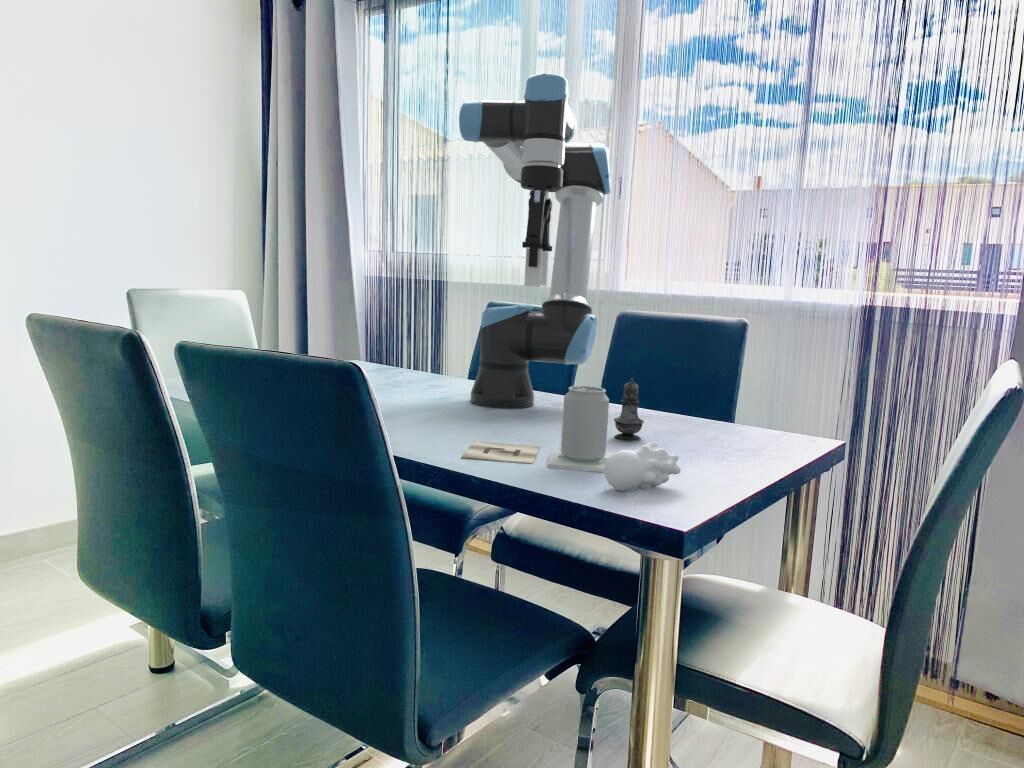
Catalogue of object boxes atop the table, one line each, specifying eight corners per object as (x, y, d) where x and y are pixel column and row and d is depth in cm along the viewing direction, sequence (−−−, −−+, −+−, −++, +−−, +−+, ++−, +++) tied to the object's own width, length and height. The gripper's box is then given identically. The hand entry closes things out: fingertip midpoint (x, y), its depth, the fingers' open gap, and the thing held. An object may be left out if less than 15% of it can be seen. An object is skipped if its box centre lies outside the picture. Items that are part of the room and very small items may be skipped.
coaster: (552, 451, 132) (552, 448, 132) (615, 457, 131) (615, 453, 131) (547, 467, 121) (547, 463, 121) (615, 473, 120) (615, 469, 120)
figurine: (588, 466, 113) (651, 455, 119) (606, 505, 110) (670, 492, 116) (609, 442, 108) (673, 432, 114) (628, 483, 105) (693, 471, 111)
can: (603, 465, 122) (608, 392, 120) (557, 461, 123) (561, 389, 121) (606, 455, 129) (611, 386, 127) (563, 451, 130) (567, 382, 129)
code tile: (473, 442, 136) (474, 441, 136) (539, 447, 135) (539, 446, 135) (461, 458, 125) (461, 456, 125) (532, 464, 123) (532, 462, 123)
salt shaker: (606, 437, 147) (610, 376, 145) (623, 433, 151) (628, 374, 149) (631, 443, 143) (636, 380, 141) (648, 439, 147) (653, 378, 145)
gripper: (528, 175, 147) (523, 283, 151) (513, 155, 123) (506, 285, 126) (567, 176, 147) (560, 285, 150) (558, 156, 122) (551, 288, 125)
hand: (536, 286), depth 138 cm, fingers open, 13 cm apart
